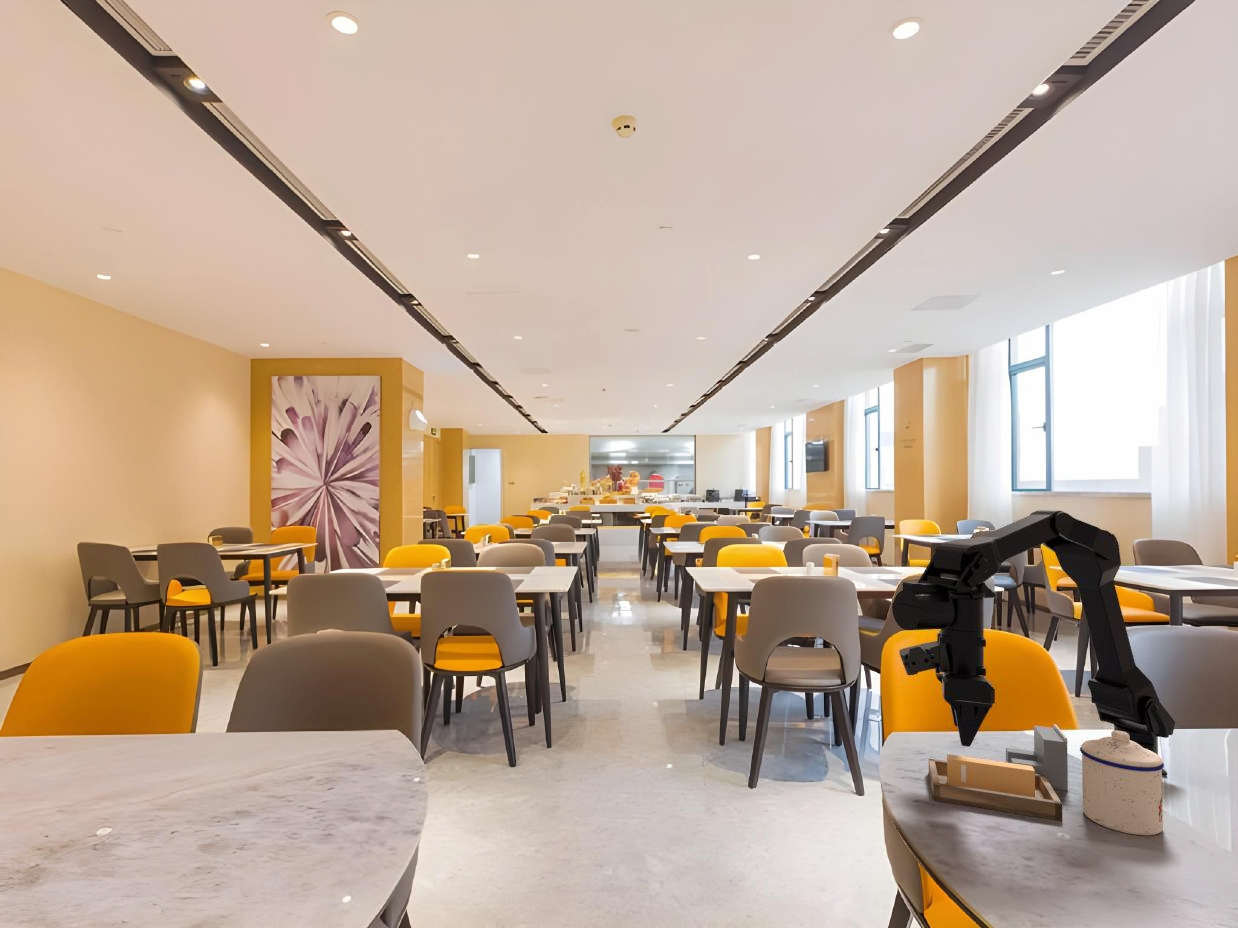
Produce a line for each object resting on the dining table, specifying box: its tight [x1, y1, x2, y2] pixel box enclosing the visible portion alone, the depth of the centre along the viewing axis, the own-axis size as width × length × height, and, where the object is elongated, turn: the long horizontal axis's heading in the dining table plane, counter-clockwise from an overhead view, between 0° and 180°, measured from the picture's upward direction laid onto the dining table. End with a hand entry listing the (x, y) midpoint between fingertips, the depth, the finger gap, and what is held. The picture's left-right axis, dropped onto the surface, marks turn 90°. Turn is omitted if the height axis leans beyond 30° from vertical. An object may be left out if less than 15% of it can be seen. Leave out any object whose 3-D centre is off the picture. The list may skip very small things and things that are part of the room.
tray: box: [928, 758, 1063, 822], centre depth 99 cm, size 11×16×2 cm
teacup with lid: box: [1079, 729, 1165, 836], centre depth 93 cm, size 12×9×12 cm
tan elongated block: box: [946, 753, 1035, 798], centre depth 99 cm, size 2×11×4 cm, turn 69°
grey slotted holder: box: [1005, 723, 1069, 792], centre depth 105 cm, size 7×7×8 cm
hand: (961, 735), depth 100 cm, fingers open, 9 cm apart
